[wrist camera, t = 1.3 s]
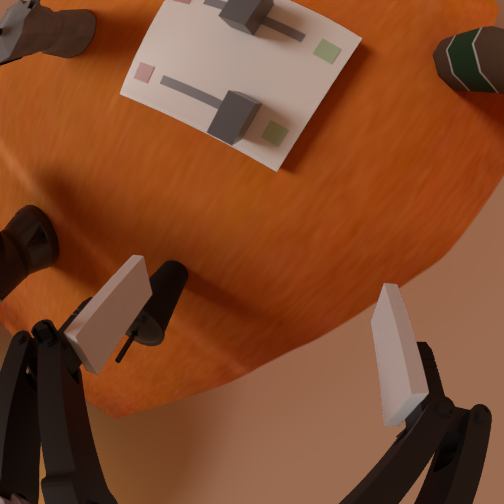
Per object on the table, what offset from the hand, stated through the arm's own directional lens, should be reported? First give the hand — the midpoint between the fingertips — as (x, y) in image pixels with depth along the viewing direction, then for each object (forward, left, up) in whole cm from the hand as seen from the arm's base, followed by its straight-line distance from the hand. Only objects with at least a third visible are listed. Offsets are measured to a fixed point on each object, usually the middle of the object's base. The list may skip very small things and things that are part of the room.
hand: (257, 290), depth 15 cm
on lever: (-8, +4, -21) cm, 23 cm away
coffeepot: (-42, +6, -24) cm, 49 cm away
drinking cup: (-7, -24, -24) cm, 35 cm away
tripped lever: (-13, +16, -21) cm, 30 cm away
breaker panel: (-13, +10, -24) cm, 29 cm away
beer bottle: (+11, +27, -24) cm, 38 cm away
